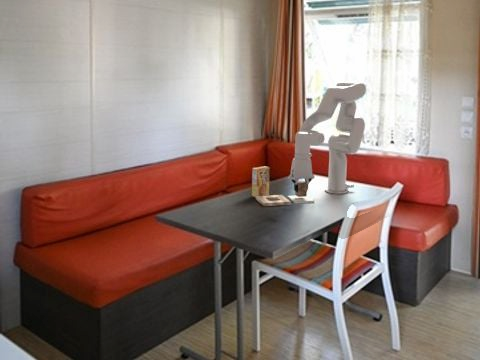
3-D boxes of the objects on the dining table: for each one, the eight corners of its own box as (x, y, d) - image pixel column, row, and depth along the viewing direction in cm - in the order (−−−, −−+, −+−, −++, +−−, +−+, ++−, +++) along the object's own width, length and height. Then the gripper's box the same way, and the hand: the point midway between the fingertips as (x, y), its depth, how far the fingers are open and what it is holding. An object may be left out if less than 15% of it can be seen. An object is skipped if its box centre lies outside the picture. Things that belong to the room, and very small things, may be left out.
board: (305, 196, 287) (305, 194, 286) (314, 202, 275) (314, 200, 275) (287, 197, 284) (287, 195, 284) (295, 203, 273) (295, 201, 273)
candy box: (264, 193, 292) (264, 165, 288) (269, 195, 289) (269, 167, 285) (251, 196, 286) (251, 167, 283) (256, 197, 283) (257, 169, 280)
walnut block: (303, 194, 282) (303, 181, 280) (306, 196, 278) (307, 183, 276) (295, 194, 281) (295, 181, 279) (298, 196, 277) (298, 183, 275)
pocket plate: (281, 197, 284) (281, 194, 284) (290, 204, 271) (290, 201, 271) (255, 199, 281) (255, 196, 281) (263, 206, 268) (263, 203, 267)
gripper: (314, 154, 280) (313, 188, 284) (284, 155, 276) (283, 190, 280) (320, 157, 273) (319, 192, 277) (288, 158, 269) (287, 194, 273)
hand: (300, 191), depth 279 cm, fingers closed on walnut block, 4 cm apart
